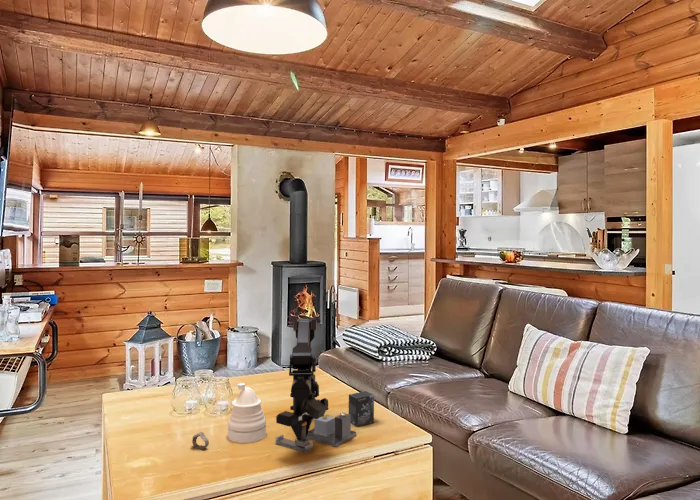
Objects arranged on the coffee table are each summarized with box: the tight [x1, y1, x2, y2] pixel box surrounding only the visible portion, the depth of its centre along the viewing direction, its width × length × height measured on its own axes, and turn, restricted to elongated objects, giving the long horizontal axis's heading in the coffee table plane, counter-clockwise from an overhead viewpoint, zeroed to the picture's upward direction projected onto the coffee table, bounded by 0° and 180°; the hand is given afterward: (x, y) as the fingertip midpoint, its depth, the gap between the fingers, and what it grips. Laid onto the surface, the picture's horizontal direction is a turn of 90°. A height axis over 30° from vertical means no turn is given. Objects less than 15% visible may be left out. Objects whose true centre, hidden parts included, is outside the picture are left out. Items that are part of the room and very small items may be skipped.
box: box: [348, 390, 375, 428], centre depth 188 cm, size 8×6×11 cm
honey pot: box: [227, 382, 267, 444], centre depth 176 cm, size 13×13×18 cm
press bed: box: [306, 411, 357, 448], centre depth 175 cm, size 14×12×9 cm
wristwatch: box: [191, 431, 210, 450], centre depth 166 cm, size 4×6×5 cm, turn 60°
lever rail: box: [275, 434, 313, 454], centre depth 167 cm, size 13×3×2 cm, turn 56°
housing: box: [314, 412, 335, 435], centre depth 176 cm, size 5×5×6 cm
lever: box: [294, 421, 310, 447], centre depth 165 cm, size 4×3×7 cm
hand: (301, 438), depth 165 cm, fingers closed on lever, 3 cm apart
